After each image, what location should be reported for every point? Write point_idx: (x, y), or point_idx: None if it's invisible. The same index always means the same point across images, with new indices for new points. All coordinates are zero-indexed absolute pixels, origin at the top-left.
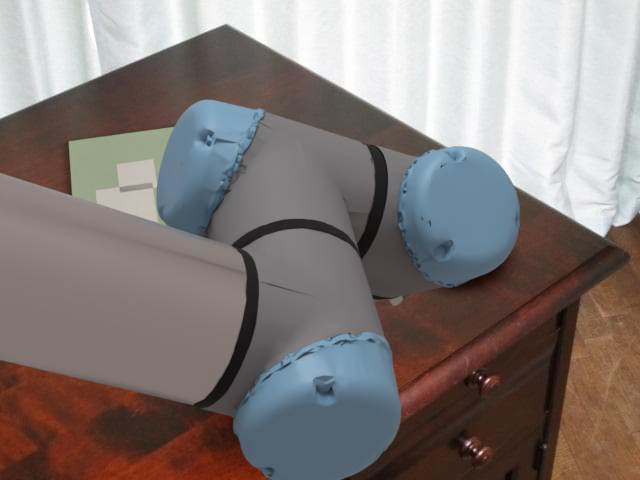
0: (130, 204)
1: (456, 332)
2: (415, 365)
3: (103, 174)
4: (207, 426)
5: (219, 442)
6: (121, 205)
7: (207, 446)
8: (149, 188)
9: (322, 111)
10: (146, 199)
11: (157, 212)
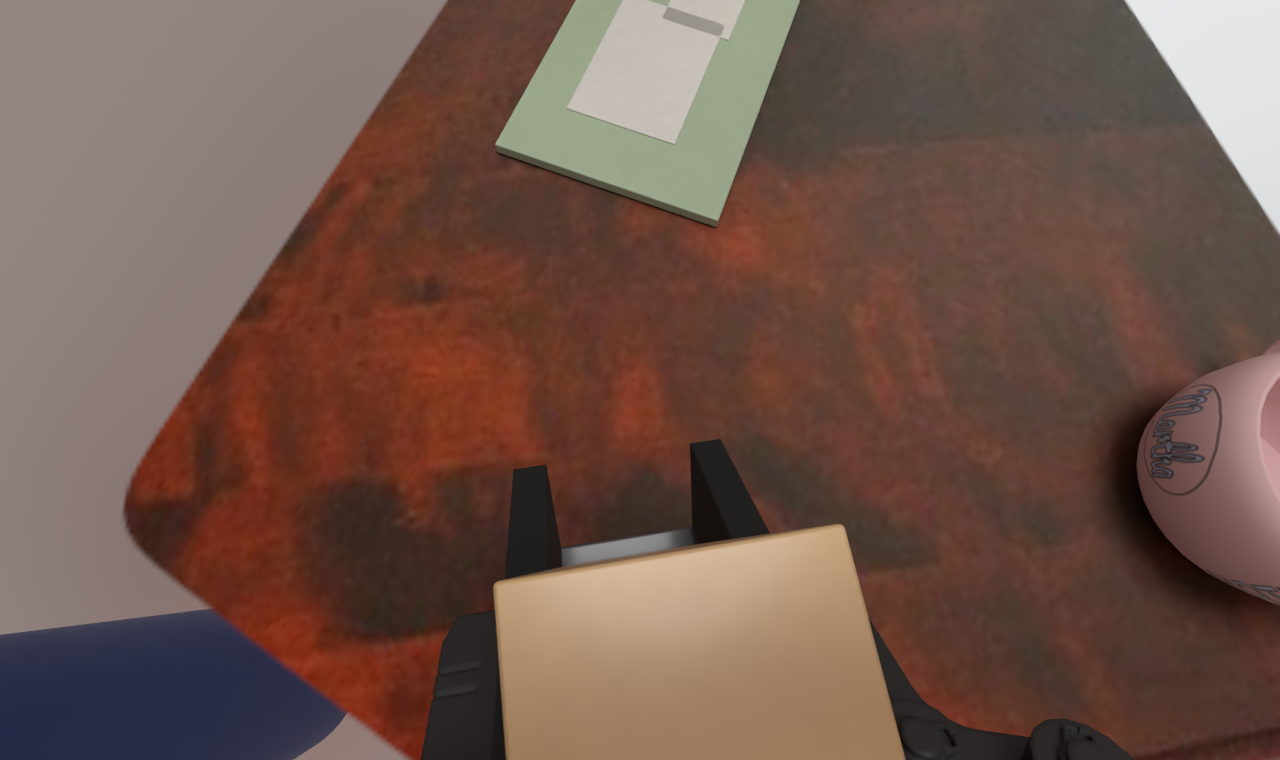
0: (665, 50)
1: (1129, 710)
2: None
3: None
4: None
5: None
6: (649, 44)
7: None
8: (714, 35)
9: (1083, 32)
10: (696, 54)
11: (699, 89)
